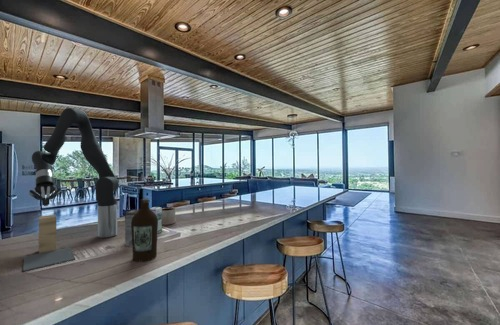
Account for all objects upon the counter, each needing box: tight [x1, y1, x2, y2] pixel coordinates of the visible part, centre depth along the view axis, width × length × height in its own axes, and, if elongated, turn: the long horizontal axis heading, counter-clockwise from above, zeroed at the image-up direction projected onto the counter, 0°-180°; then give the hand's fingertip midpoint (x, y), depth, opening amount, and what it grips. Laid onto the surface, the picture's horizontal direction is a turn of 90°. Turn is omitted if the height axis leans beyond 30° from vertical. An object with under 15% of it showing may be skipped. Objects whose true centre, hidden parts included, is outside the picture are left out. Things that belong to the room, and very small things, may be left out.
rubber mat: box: [22, 247, 77, 272], centre depth 102 cm, size 18×16×1 cm
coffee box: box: [124, 209, 140, 247], centre depth 122 cm, size 9×6×16 cm
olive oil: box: [131, 198, 158, 262], centre depth 103 cm, size 11×11×25 cm
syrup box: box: [149, 206, 163, 234], centre depth 139 cm, size 6×6×14 cm
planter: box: [161, 207, 177, 226], centre depth 161 cm, size 11×11×10 cm
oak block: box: [38, 214, 57, 254], centre depth 111 cm, size 6×6×16 cm
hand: (45, 205), depth 120 cm, fingers closed
